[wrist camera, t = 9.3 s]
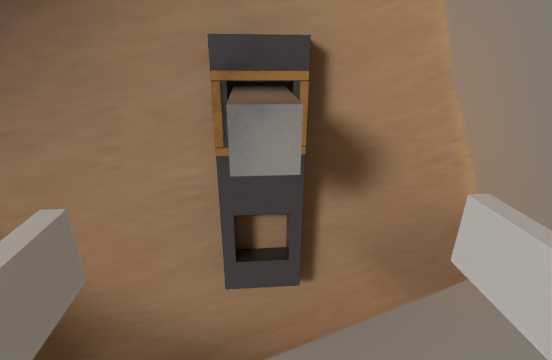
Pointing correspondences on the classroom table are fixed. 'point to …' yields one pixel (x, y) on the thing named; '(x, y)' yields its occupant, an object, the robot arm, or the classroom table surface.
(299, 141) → the square gray post
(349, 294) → the classroom table surface
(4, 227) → the classroom table surface
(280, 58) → the peg insertion base
